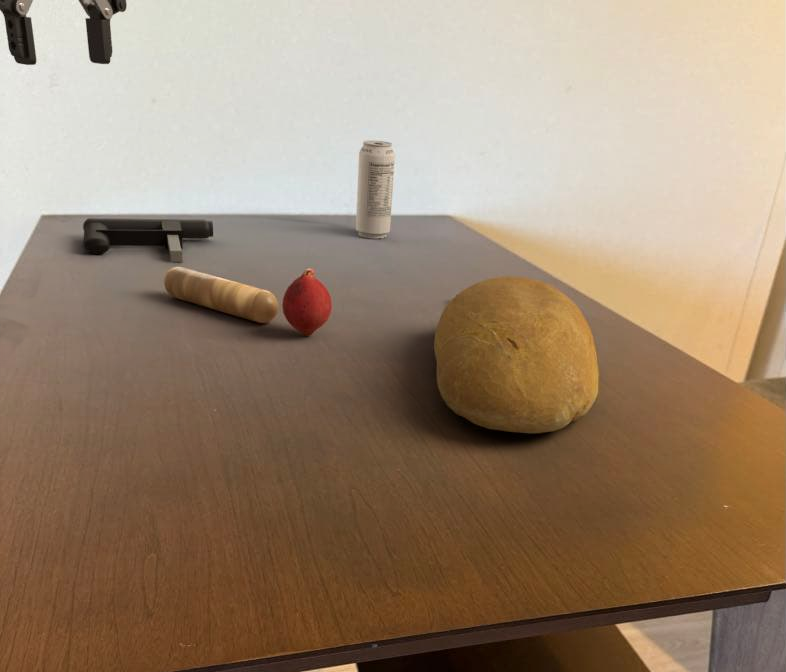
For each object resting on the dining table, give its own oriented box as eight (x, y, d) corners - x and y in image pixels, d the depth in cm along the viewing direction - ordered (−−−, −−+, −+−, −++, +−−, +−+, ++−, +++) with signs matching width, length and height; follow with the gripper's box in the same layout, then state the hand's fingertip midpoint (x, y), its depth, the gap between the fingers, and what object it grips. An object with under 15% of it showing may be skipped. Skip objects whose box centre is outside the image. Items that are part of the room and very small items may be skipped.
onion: (304, 347, 100) (305, 278, 96) (272, 333, 103) (272, 266, 99) (340, 337, 104) (342, 270, 100) (308, 324, 107) (309, 259, 103)
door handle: (221, 245, 127) (210, 214, 139) (80, 245, 122) (82, 213, 134) (222, 267, 129) (211, 235, 141) (83, 268, 124) (84, 234, 136)
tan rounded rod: (158, 297, 112) (156, 267, 110) (180, 291, 115) (178, 261, 113) (264, 329, 104) (264, 297, 102) (285, 322, 107) (285, 290, 105)
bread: (432, 443, 80) (443, 341, 75) (431, 325, 110) (439, 246, 105) (625, 458, 81) (649, 357, 75) (572, 336, 110) (587, 258, 105)
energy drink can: (381, 230, 154) (386, 140, 146) (394, 239, 149) (401, 145, 141) (350, 231, 151) (354, 139, 143) (363, 239, 147) (367, 145, 139)
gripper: (77, -142, 78) (96, 59, 87) (-68, -173, 68) (-29, 59, 76) (135, -142, 75) (149, 67, 84) (-7, -174, 65) (26, 68, 73)
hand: (64, 63), depth 80 cm, fingers open, 8 cm apart
